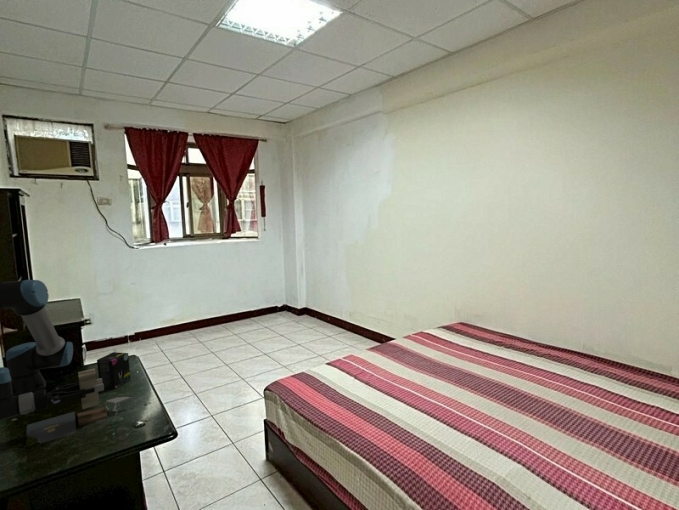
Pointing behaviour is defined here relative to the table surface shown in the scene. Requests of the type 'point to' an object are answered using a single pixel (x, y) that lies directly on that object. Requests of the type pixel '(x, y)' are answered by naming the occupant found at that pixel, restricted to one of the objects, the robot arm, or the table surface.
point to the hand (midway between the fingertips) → (102, 383)
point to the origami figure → (118, 402)
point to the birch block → (85, 381)
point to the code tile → (52, 428)
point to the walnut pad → (92, 415)
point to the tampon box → (114, 369)
